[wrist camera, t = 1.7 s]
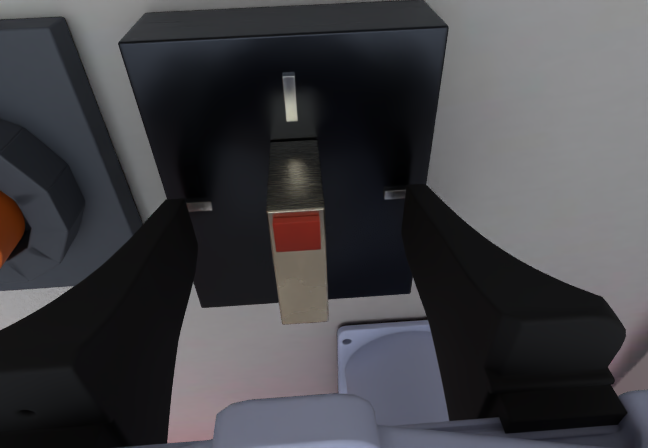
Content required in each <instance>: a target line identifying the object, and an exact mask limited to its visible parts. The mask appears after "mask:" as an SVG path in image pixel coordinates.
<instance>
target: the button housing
mask: <svg viewBox="0 0 648 448" xmlns="http://www.w3.org/2000/svg"><path fill="white" fill-rule="evenodd" d="M0 191H2V192H3V193H5V194H6V195H7V196H9V197H10V198H11V199H13V200H14V201H15V203H16V204H17V205H18V207H19V208H20V210H21V212H22V214H23V217H24V220H25V231H24V234H23V236H22V238H21V240H20V241H19V242H18V244H17V245H16V247H15V248H14V250H13V251H12V252H11V254H10V255H9V257H8V258H7V260H6V261H5V263H4V264H3V265H2V267H1V268H0V291H7V290H22V289H37V288H52V287H67V286H76V285H77V284H78V283H80V282H81V281H83V280H84V279H85V278H86V277H88V276H89V275H90V274H91V273H93V272H94V271H95V270H97V269H98V268H99V267H100V266H101V265H102V264H104V263H105V262H106V261H107V260H108V259H109V258H110V257H111V256H112V255H113V254H115V253H116V252H117V251H118V250H119V249H120V248H121V247H122V246H123V245H124V244H125V243H126V242H127V241H128V240H129V239H130V238H131V237H132V236H133V235H134V234H135V233H136V232H137V231H138V230H139V229H140V227H141V226H142V222H141V219H140V217H139V214H138V211H137V209H136V206H135V204H134V201H133V198H132V196H131V193H130V190H129V188H128V185H127V182H126V180H125V177H124V175H123V172H122V169H121V167H120V164H119V161H118V159H117V156H116V153H115V151H114V148H113V145H112V143H111V140H110V138H109V135H108V132H107V130H106V127H105V124H104V122H103V119H102V116H101V114H100V111H99V108H98V106H97V103H96V101H95V98H94V95H93V93H92V90H91V87H90V85H89V82H88V79H87V77H86V74H85V72H84V69H83V66H82V64H81V61H80V58H79V56H78V53H77V50H76V48H75V45H74V42H73V40H72V37H71V35H70V32H69V29H68V27H67V24H66V21H65V19H64V18H63V17H48V18H27V19H6V20H0Z"/></svg>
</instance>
